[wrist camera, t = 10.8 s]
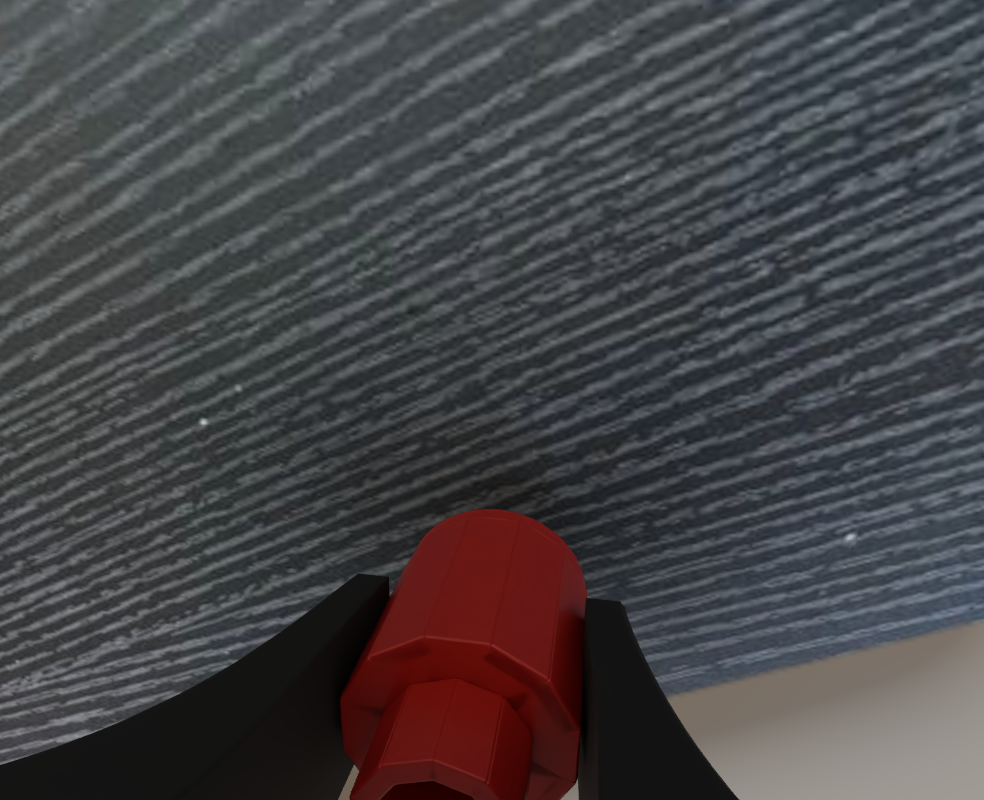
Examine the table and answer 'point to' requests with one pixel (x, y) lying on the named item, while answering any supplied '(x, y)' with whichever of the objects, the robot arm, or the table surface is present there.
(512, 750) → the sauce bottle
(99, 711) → the table surface
